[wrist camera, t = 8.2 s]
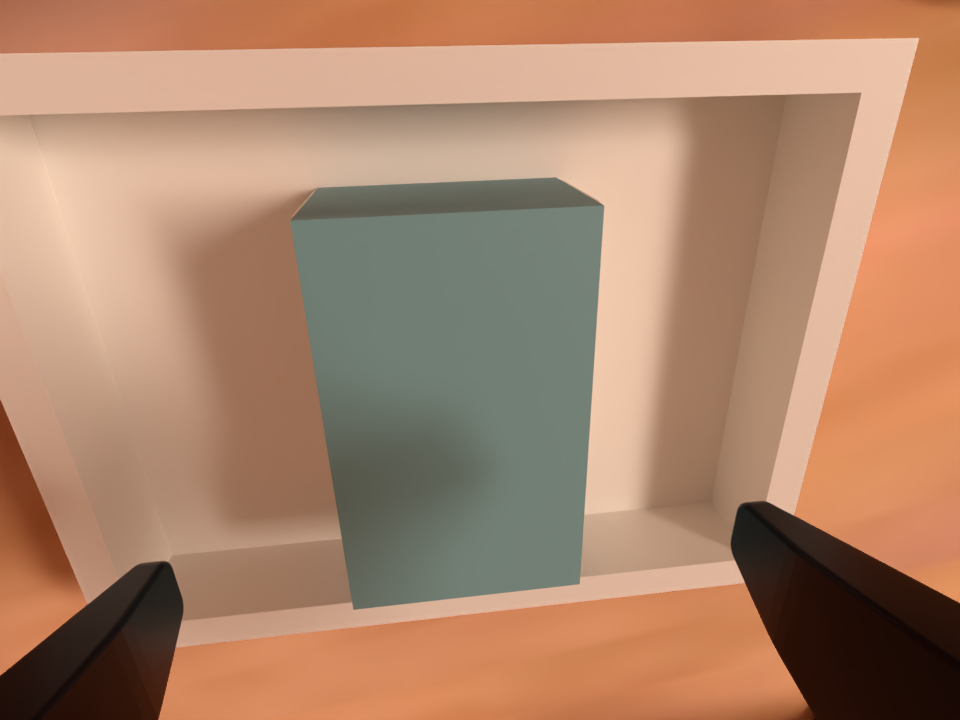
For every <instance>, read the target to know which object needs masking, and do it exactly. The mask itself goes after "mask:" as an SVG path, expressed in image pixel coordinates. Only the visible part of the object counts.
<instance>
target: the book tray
mask: <svg viewBox="0 0 960 720" xmlns="http://www.w3.org/2000/svg"><path fill="white" fill-rule="evenodd" d="M918 41H919V38H891V39H833V40H774V41H715V42H656V43H597V44H539V45H480V46H421V47H362V48H303V49H245V50H186V51H127V52H68V53H9V54H0V400H1V402H2V405H3V407H4V409H5V412H6V414H7V416H8V419H9V421H10V423H11V426H12V428H13V430H14V433H15V435H16V437H17V440H18V442H19V445H20V447H21V449H22V452H23V454H24V456H25V459H26V461H27V463H28V466H29V468H30V470H31V473H32V475H33V477H34V480H35V482H36V484H37V487H38V489H39V492H40V494H41V496H42V499H43V501H44V503H45V506H46V508H47V510H48V513H49V515H50V517H51V520H52V522H53V524H54V527H55V529H56V532H57V534H58V536H59V539H60V541H61V543H62V546H63V548H64V550H65V553H66V555H67V557H68V560H69V562H70V564H71V567H72V569H73V572H74V574H75V576H76V579H77V581H78V583H79V586H80V588H81V590H82V593H83V595H84V597H85V600H86V602H87V604H89V603H90V602H91V601H93V600H94V599H95V598H96V597H98V596H99V595H100V594H101V593H102V592H104V591H105V590H106V589H107V588H109V587H110V586H111V585H112V584H113V583H115V582H116V581H117V580H118V579H120V578H121V577H122V576H123V575H124V574H126V573H127V572H128V571H129V570H131V569H132V568H133V567H135V566H136V565H138V564H140V563H145V562H155V561H167V562H169V563H170V564H171V566H172V568H173V571H174V574H175V577H176V580H177V583H178V586H179V589H180V592H181V595H182V598H183V604H184V611H183V618H182V622H181V626H180V631H179V635H178V639H177V644H176V648H177V647H186V646H195V645H204V644H213V643H221V642H230V641H239V640H248V639H257V638H265V637H274V636H283V635H292V634H300V633H309V632H318V631H327V630H336V629H344V628H353V627H362V626H371V625H379V624H388V623H397V622H406V621H415V620H423V619H432V618H441V617H450V616H459V615H467V614H476V613H485V612H494V611H502V610H511V609H520V608H529V607H538V606H546V605H555V604H564V603H573V602H582V601H590V600H599V599H608V598H617V597H625V596H634V595H643V594H652V593H661V592H669V591H678V590H687V589H696V588H705V587H713V586H722V585H731V584H740V583H745V582H744V579H743V577H742V575H741V573H740V571H739V568H738V566H737V564H736V562H735V560H734V557H733V555H732V551H731V536H732V531H733V526H734V522H735V517H736V512H737V509H738V507H739V505H740V504H742V503H744V502H753V501H767V502H769V503H771V504H773V505H775V506H777V507H779V508H780V509H782V510H784V511H786V512H788V513H790V514H792V515H794V513H795V509H796V505H797V502H798V498H799V494H800V490H801V486H802V483H803V479H804V475H805V471H806V467H807V463H808V460H809V456H810V452H811V448H812V444H813V441H814V437H815V433H816V429H817V425H818V422H819V418H820V414H821V410H822V406H823V403H824V399H825V395H826V391H827V387H828V384H829V380H830V376H831V372H832V368H833V364H834V361H835V357H836V353H837V349H838V345H839V342H840V338H841V334H842V330H843V326H844V323H845V319H846V315H847V311H848V307H849V304H850V300H851V296H852V292H853V288H854V285H855V281H856V277H857V273H858V269H859V265H860V262H861V258H862V254H863V250H864V246H865V243H866V239H867V235H868V231H869V227H870V224H871V220H872V216H873V212H874V208H875V205H876V201H877V197H878V193H879V189H880V186H881V182H882V178H883V174H884V170H885V166H886V163H887V159H888V155H889V151H890V147H891V144H892V140H893V136H894V132H895V128H896V125H897V121H898V117H899V113H900V109H901V106H902V102H903V98H904V94H905V90H906V87H907V83H908V79H909V75H910V71H911V67H912V64H913V60H914V56H915V52H916V48H917V45H918ZM553 177H556V178H558V179H560V180H561V179H562V180H563V181H565V182H567V183H569V184H570V185H572V186H574V187H576V188H577V189H579V190H581V191H583V192H584V193H586V194H588V195H590V196H591V197H593V198H595V199H597V200H598V201H600V202H601V204H603V205H604V219H603V234H602V249H601V265H600V280H599V296H598V311H597V326H596V342H595V357H594V372H593V388H592V403H591V419H590V434H589V449H588V465H587V480H586V495H585V511H584V526H583V542H582V557H581V572H580V584H578V585H569V586H560V587H551V588H542V589H533V590H525V591H516V592H507V593H498V594H489V595H480V596H472V597H463V598H454V599H445V600H436V601H427V602H418V603H410V604H401V605H392V606H383V607H374V608H365V609H357V610H353V605H352V599H351V592H350V586H349V580H348V574H347V568H346V562H345V556H344V549H343V543H342V537H341V531H340V525H339V519H338V513H337V506H336V500H335V494H334V488H333V482H332V476H331V470H330V463H329V457H328V451H327V445H326V439H325V433H324V427H323V420H322V414H321V408H320V402H319V396H318V390H317V384H316V377H315V371H314V365H313V359H312V353H311V347H310V341H309V334H308V328H307V322H306V316H305V310H304V304H303V298H302V291H301V285H300V279H299V273H298V267H297V261H296V255H295V248H294V242H293V236H292V230H291V224H290V220H291V216H292V215H293V214H294V213H295V211H296V210H297V209H298V208H299V207H300V206H301V205H302V203H303V202H304V201H305V200H306V199H307V198H308V197H309V195H310V194H311V193H312V192H313V191H314V190H317V189H318V188H322V187H345V186H368V185H391V184H414V183H437V182H460V181H484V180H507V179H530V178H553Z"/></svg>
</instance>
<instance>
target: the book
mask: <svg viewBox="0 0 960 720" xmlns="http://www.w3.org/2000/svg"><path fill="white" fill-rule="evenodd" d="M603 219H604V205H603V204H601V202H600V201H598V200H597V199H595V198H593V197H591V196H590V195H588V194H586V193H584V192H583V191H581V190H579V189H577V188H576V187H574V186H572V185H570V184H569V183H567V182H565V181H563V180H562V179H561V180H560V179H558V178H556V177H553V178H530V179H507V180H484V181H460V182H437V183H414V184H391V185H368V186H345V187H322V188H318V189H317V190H314V191H313V192H312V193H311V194H310V195H309V197H308V198H307V199H306V200H305V201H304V202H303V203H302V205H301V206H300V207H299V208H298V209H297V210H296V211H295V213H294V214H293V215H292V216H291V220H290V224H291V230H292V236H293V242H294V248H295V255H296V261H297V267H298V273H299V279H300V285H301V291H302V298H303V304H304V310H305V316H306V322H307V328H308V334H309V341H310V347H311V353H312V359H313V365H314V371H315V377H316V384H317V390H318V396H319V402H320V408H321V414H322V420H323V427H324V433H325V439H326V445H327V451H328V457H329V463H330V470H331V476H332V482H333V488H334V494H335V500H336V506H337V513H338V519H339V525H340V531H341V537H342V543H343V549H344V556H345V562H346V568H347V574H348V580H349V586H350V592H351V599H352V605H353V610H357V609H365V608H374V607H383V606H392V605H401V604H410V603H418V602H427V601H436V600H445V599H454V598H463V597H472V596H480V595H489V594H498V593H507V592H516V591H525V590H533V589H542V588H551V587H560V586H569V585H578V584H580V572H581V557H582V542H583V526H584V511H585V495H586V480H587V465H588V449H589V434H590V419H591V403H592V388H593V372H594V357H595V342H596V326H597V311H598V296H599V280H600V265H601V249H602V234H603Z"/></svg>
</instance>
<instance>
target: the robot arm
mask: <svg viewBox="0 0 960 720" xmlns="http://www.w3.org/2000/svg"><path fill="white" fill-rule="evenodd" d="M731 551H732V555H733V557H734V560H735V562H736V564H737V566H738V568H739V571H740V573H741V575H742V577H743V579H744V582H745V584H746V586H747V588H748V591H749V593H750V595H751V597H752V599H753V602H754V604H755V606H756V608H757V610H758V613H759V615H760V617H761V619H762V622H763V624H764V626H765V628H766V630H767V632H768V634H769V636H770V638H771V640H772V643H773V644H774V646H775V648H776V650H777V652H778V653H779V655H780V657H781V659H782V661H783V662H784V664H785V666H786V668H787V669H788V671H789V673H790V674H791V676H792V678H793V680H794V681H795V683H796V685H797V687H798V688H799V690H800V692H801V694H802V695H803V697H804V699H805V701H806V702H807V704H808V706H809V707H810V709H811V711H812V713H813V714H814V716H815V718H816V720H960V603H959V602H957V601H955V600H953V599H951V598H949V597H947V596H945V595H943V594H942V593H940V592H938V591H936V590H934V589H932V588H930V587H928V586H926V585H924V584H923V583H921V582H919V581H917V580H915V579H913V578H911V577H909V576H907V575H906V574H904V573H902V572H900V571H898V570H896V569H894V568H892V567H890V566H888V565H887V564H885V563H883V562H881V561H879V560H877V559H875V558H873V557H871V556H870V555H868V554H866V553H864V552H862V551H860V550H858V549H856V548H854V547H852V546H851V545H849V544H847V543H845V542H843V541H841V540H839V539H837V538H835V537H834V536H832V535H830V534H828V533H826V532H824V531H822V530H820V529H818V528H816V527H815V526H813V525H811V524H809V523H807V522H805V521H803V520H801V519H799V518H798V517H796V516H794V515H792V514H790V513H788V512H786V511H784V510H782V509H780V508H779V507H777V506H775V505H773V504H771V503H769V502H767V501H753V502H744V503H742V504H740V505H739V507H738V509H737V512H736V517H735V522H734V526H733V531H732V536H731ZM183 611H184V604H183V598H182V595H181V592H180V589H179V586H178V583H177V580H176V577H175V574H174V571H173V568H172V566H171V564H170V563H169V562H167V561H155V562H145V563H140V564H138V565H136V566H135V567H133V568H132V569H131V570H129V571H128V572H127V573H126V574H124V575H123V576H122V577H121V578H120V579H118V580H117V581H116V582H115V583H113V584H112V585H111V586H110V587H109V588H107V589H106V590H105V591H104V592H102V593H101V594H100V595H99V596H98V597H96V598H95V599H94V600H93V601H91V602H90V603H89V604H88V605H86V606H85V607H84V608H83V609H82V610H80V611H79V612H78V613H77V614H75V615H74V616H73V617H72V618H71V619H69V620H68V621H67V622H66V623H64V624H63V625H62V626H61V627H60V628H58V629H57V630H56V631H55V632H53V633H52V634H51V635H50V636H49V637H47V638H46V639H45V640H44V641H42V642H41V643H40V644H39V645H37V646H36V647H35V648H34V649H33V650H31V651H30V652H29V653H28V654H26V655H25V656H24V657H23V658H22V659H20V660H19V661H18V662H17V663H15V664H14V665H13V666H12V667H11V668H9V669H8V670H7V671H6V672H4V673H3V674H2V675H1V676H0V720H158V719H159V715H160V711H161V707H162V703H163V699H164V695H165V691H166V686H167V682H168V678H169V674H170V669H171V665H172V661H173V656H174V652H175V648H176V644H177V639H178V635H179V631H180V626H181V622H182V618H183Z"/></svg>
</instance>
